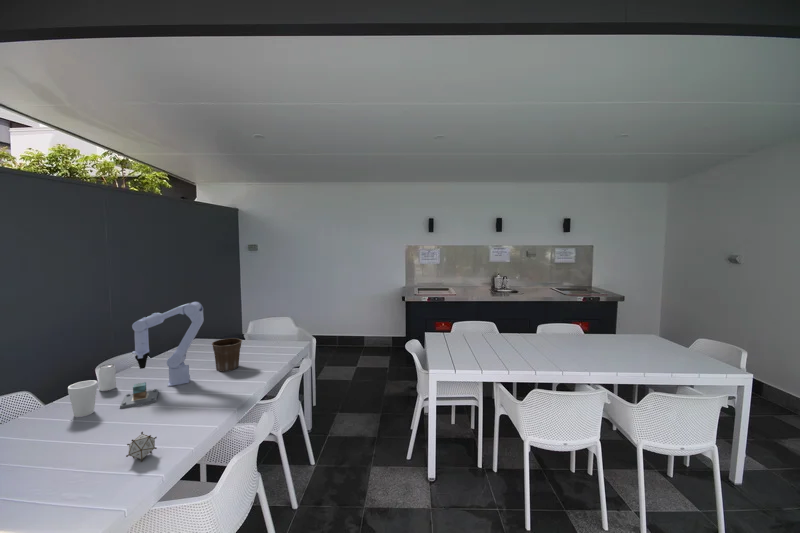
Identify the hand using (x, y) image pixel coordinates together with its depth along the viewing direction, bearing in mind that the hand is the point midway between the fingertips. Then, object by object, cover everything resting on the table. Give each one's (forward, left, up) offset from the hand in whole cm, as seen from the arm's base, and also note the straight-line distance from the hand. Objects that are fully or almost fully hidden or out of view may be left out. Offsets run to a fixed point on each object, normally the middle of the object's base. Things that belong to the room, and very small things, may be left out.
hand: (142, 368), depth 176 cm
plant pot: (-40, -7, -10) cm, 42 cm away
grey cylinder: (+15, -4, -10) cm, 18 cm away
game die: (-8, +75, -10) cm, 76 cm away
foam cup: (+18, +24, -10) cm, 31 cm away
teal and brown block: (-1, +19, -8) cm, 21 cm away
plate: (-1, +19, -9) cm, 22 cm away
